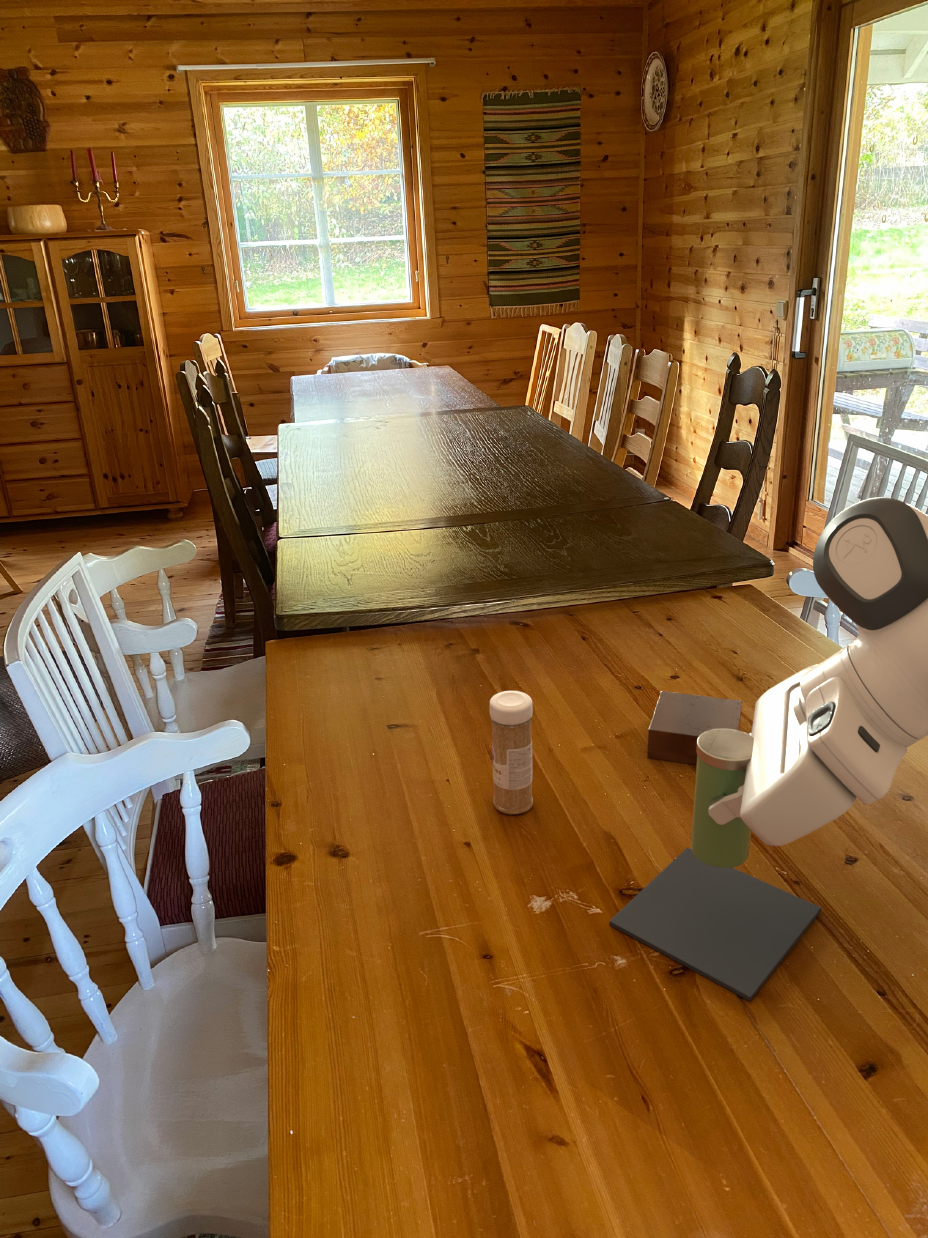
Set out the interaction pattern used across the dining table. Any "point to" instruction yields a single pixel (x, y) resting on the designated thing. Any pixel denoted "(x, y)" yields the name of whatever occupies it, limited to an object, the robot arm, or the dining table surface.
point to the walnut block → (688, 724)
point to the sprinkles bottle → (512, 751)
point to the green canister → (717, 774)
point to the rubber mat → (717, 922)
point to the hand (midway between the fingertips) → (717, 793)
